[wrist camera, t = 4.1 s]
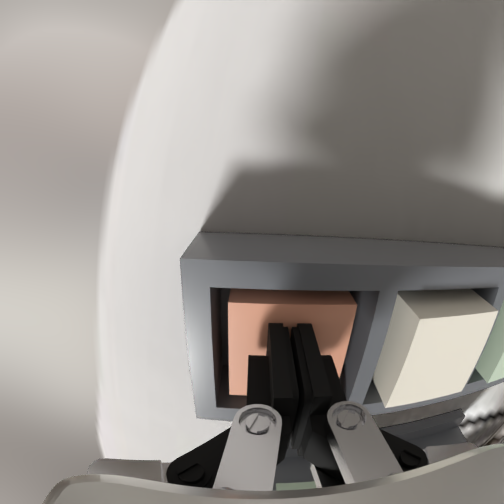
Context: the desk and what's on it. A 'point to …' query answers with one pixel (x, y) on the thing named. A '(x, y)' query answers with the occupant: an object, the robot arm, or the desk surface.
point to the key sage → (493, 352)
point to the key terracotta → (285, 324)
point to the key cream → (432, 344)
